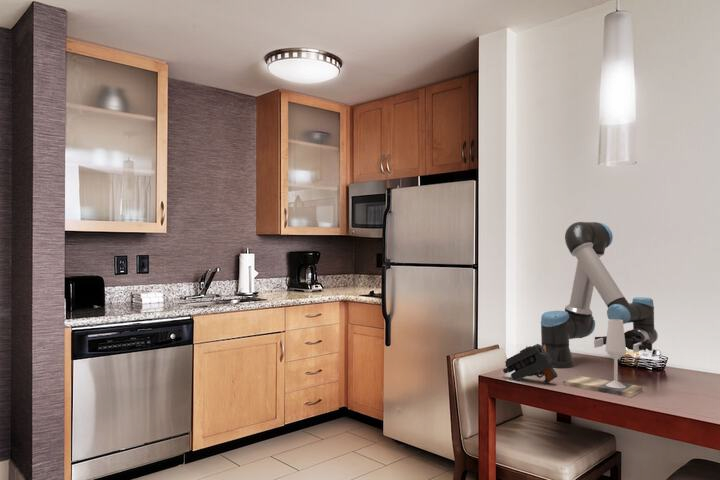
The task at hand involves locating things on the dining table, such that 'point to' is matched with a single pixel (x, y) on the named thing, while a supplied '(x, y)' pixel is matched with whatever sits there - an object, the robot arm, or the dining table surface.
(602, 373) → the dining table surface
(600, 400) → the dining table surface
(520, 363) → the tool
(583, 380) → the subfloor board
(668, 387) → the dining table surface
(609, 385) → the champagne flute
